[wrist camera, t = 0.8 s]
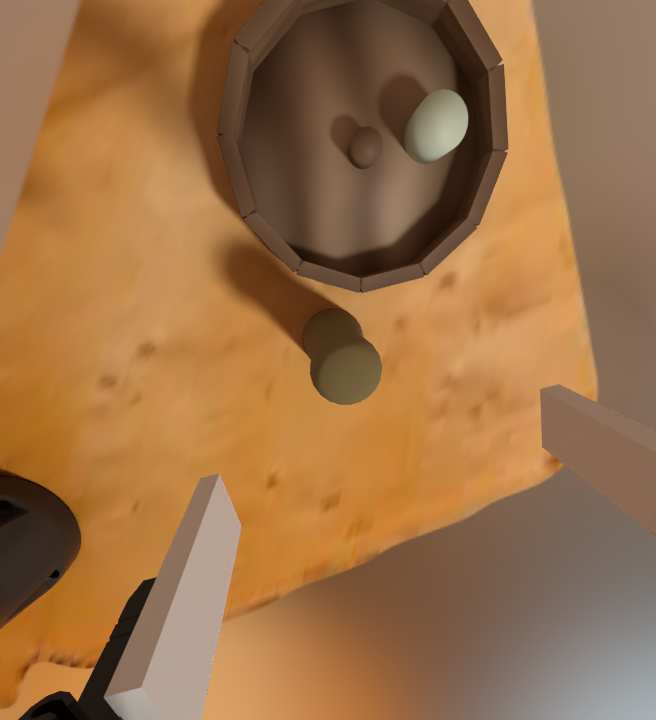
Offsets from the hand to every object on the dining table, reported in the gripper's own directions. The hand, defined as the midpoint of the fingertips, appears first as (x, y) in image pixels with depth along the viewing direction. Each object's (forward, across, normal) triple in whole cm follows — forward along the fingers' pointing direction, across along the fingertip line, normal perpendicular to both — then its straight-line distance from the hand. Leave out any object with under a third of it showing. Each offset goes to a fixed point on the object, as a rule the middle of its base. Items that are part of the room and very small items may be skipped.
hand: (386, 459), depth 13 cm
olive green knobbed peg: (+20, 0, 0) cm, 21 cm away
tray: (+20, +6, +15) cm, 26 cm away
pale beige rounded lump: (+19, +11, +15) cm, 27 cm away
